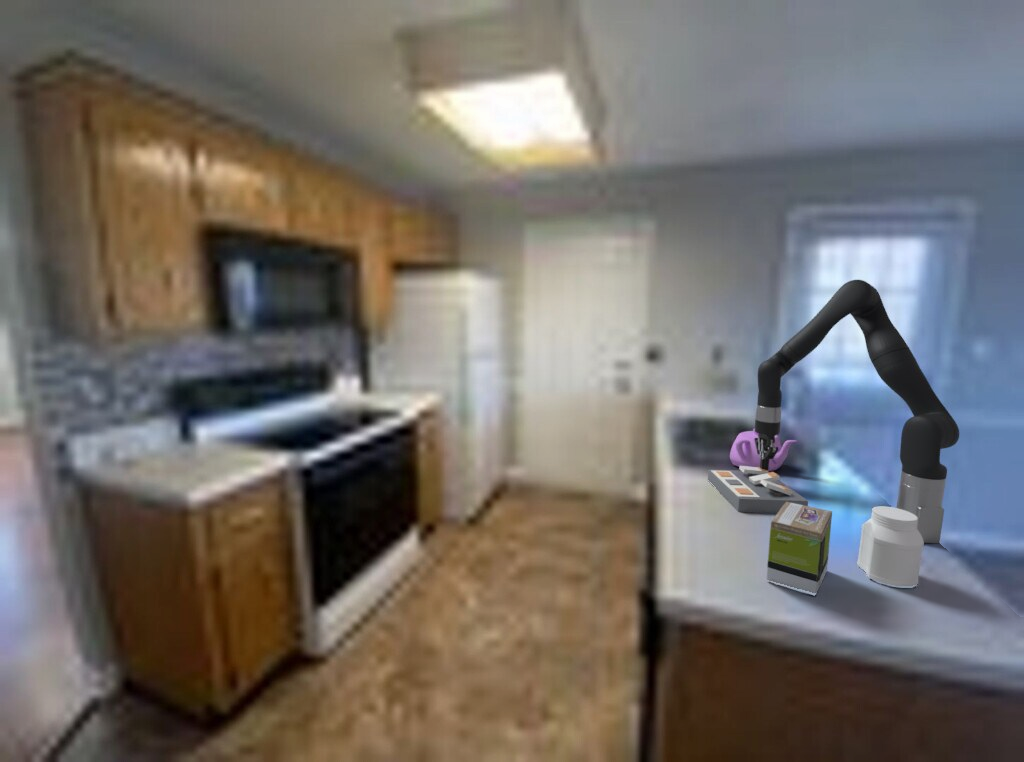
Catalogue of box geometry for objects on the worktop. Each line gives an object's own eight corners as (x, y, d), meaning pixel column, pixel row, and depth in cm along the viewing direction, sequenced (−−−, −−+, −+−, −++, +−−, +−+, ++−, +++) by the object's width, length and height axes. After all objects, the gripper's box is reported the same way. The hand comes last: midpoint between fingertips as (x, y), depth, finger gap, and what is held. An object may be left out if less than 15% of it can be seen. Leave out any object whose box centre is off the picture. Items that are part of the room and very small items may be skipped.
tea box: (780, 557, 124) (786, 499, 122) (827, 571, 118) (834, 510, 116) (764, 582, 113) (770, 519, 111) (816, 599, 107) (824, 532, 104)
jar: (852, 560, 123) (859, 501, 121) (897, 566, 121) (906, 505, 119) (873, 585, 112) (881, 521, 110) (923, 592, 110) (933, 526, 108)
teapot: (715, 466, 195) (718, 427, 192) (749, 458, 205) (752, 422, 203) (772, 484, 175) (776, 442, 173) (806, 474, 186) (810, 434, 184)
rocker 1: (768, 475, 169) (768, 471, 169) (743, 472, 169) (744, 468, 169) (762, 471, 173) (763, 467, 173) (739, 468, 173) (739, 464, 173)
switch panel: (806, 513, 151) (808, 498, 150) (738, 511, 151) (739, 496, 151) (765, 482, 177) (767, 469, 177) (707, 480, 178) (708, 467, 177)
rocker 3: (790, 495, 154) (792, 491, 153) (765, 487, 154) (767, 482, 153) (784, 490, 158) (786, 486, 157) (759, 482, 157) (761, 478, 157)
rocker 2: (780, 479, 161) (779, 475, 161) (754, 484, 162) (753, 480, 162) (774, 475, 165) (773, 471, 165) (749, 480, 166) (748, 476, 166)
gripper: (789, 423, 162) (784, 476, 164) (770, 414, 175) (766, 463, 178) (765, 423, 162) (761, 475, 165) (748, 414, 175) (744, 463, 178)
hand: (764, 469), depth 171 cm, fingers closed
